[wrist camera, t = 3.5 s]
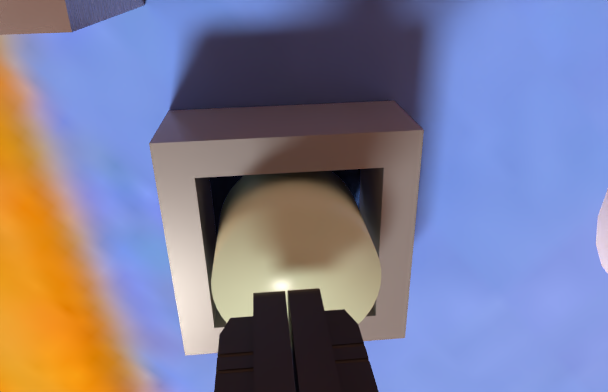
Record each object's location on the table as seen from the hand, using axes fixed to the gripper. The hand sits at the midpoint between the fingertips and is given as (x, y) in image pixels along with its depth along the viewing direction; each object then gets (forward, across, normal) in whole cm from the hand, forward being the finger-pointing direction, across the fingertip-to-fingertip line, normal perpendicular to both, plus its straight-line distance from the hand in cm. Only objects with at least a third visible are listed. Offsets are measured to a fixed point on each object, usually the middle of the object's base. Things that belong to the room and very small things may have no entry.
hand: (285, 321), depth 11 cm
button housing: (+6, 0, 0) cm, 6 cm away
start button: (+5, 0, 0) cm, 5 cm away
